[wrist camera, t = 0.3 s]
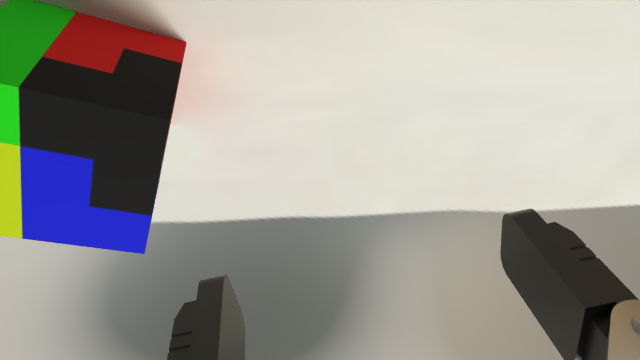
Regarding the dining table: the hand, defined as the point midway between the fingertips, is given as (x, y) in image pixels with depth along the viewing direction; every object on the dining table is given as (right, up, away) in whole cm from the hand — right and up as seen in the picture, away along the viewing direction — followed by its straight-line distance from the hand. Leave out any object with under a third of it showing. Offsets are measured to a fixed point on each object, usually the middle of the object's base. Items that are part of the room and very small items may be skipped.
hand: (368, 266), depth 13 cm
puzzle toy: (-17, +9, +19) cm, 27 cm away
